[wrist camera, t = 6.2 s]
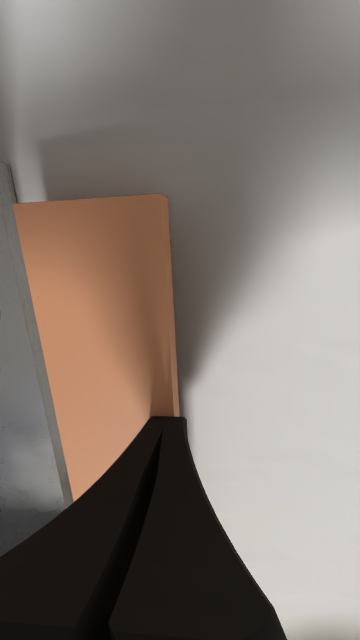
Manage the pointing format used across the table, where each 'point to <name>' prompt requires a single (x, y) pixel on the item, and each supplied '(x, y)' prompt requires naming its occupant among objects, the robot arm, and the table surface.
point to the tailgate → (102, 320)
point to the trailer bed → (24, 399)
